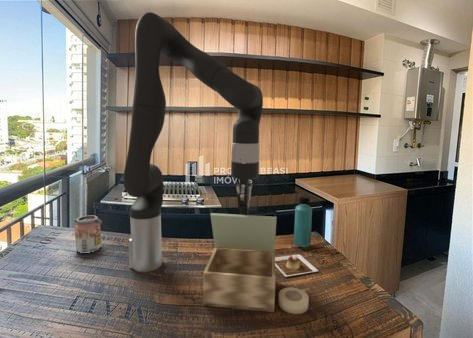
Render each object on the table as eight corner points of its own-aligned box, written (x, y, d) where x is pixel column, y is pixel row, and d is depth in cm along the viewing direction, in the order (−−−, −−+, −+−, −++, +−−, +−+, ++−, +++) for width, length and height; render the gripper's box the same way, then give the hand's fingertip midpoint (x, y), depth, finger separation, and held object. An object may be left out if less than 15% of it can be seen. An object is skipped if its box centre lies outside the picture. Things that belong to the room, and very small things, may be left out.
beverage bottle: (311, 252, 101) (314, 199, 98) (292, 250, 102) (295, 198, 99) (309, 244, 107) (313, 195, 104) (292, 242, 108) (295, 194, 105)
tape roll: (278, 312, 68) (279, 303, 67) (278, 294, 75) (278, 285, 75) (310, 315, 67) (310, 306, 66) (306, 296, 74) (306, 288, 74)
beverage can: (83, 243, 104) (81, 213, 102) (106, 243, 105) (104, 213, 103) (71, 255, 95) (68, 222, 93) (96, 254, 96) (94, 221, 94)
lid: (210, 215, 74) (211, 213, 75) (214, 247, 82) (215, 245, 83) (276, 218, 72) (276, 216, 72) (274, 251, 80) (274, 249, 80)
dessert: (268, 261, 94) (269, 248, 94) (299, 256, 98) (299, 244, 97) (285, 280, 83) (285, 265, 82) (318, 274, 87) (319, 260, 86)
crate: (203, 305, 70) (203, 272, 68) (214, 275, 83) (214, 248, 82) (274, 312, 68) (275, 278, 66) (273, 280, 81) (274, 252, 80)
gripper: (234, 156, 80) (233, 212, 83) (227, 162, 67) (226, 229, 70) (260, 157, 79) (258, 214, 82) (258, 163, 66) (255, 231, 69)
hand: (243, 221), depth 76 cm, fingers closed
